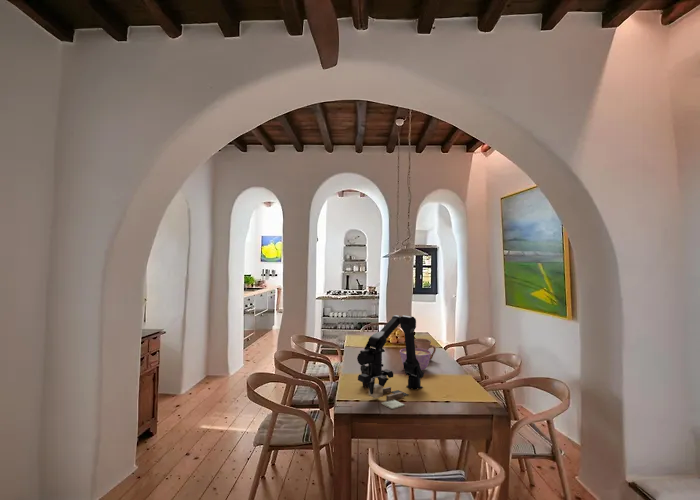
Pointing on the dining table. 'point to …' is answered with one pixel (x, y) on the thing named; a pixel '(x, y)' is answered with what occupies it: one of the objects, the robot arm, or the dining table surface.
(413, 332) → the robot arm
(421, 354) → the bowl of food
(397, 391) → the tile
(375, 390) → the beech block
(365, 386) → the coffee mug
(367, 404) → the dining table surface
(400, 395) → the walnut channel
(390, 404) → the sage coaster
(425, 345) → the ceramic jug
